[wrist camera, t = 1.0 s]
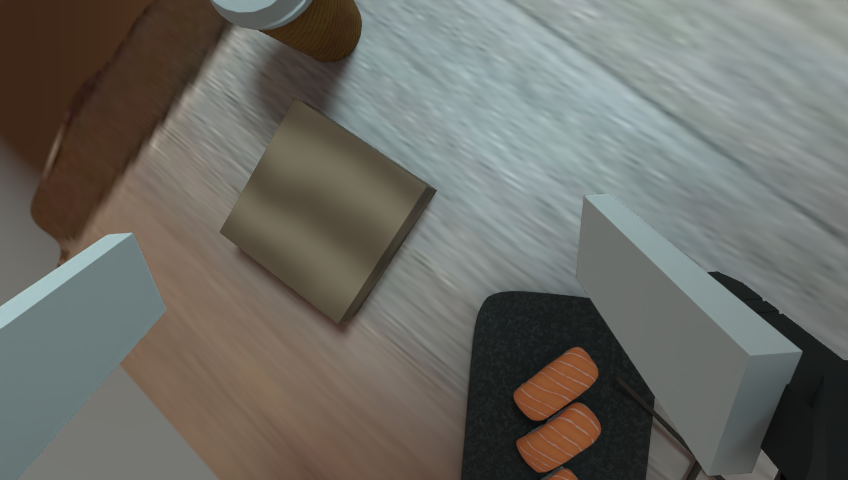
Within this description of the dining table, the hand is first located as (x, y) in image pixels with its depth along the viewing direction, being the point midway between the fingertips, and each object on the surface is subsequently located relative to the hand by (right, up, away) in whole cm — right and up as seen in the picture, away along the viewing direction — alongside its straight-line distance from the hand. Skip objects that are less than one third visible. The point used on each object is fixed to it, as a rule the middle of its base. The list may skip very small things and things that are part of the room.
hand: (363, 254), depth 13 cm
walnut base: (-7, +3, +27) cm, 28 cm away
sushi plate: (+20, -19, +23) cm, 36 cm away
